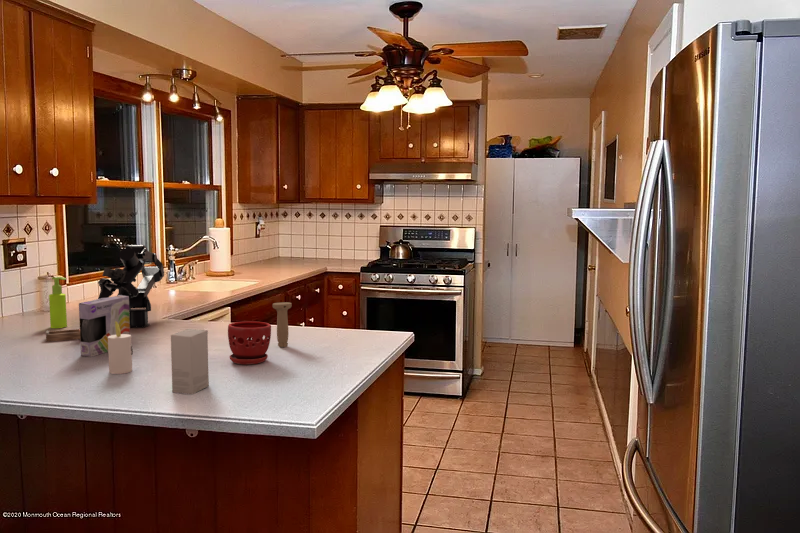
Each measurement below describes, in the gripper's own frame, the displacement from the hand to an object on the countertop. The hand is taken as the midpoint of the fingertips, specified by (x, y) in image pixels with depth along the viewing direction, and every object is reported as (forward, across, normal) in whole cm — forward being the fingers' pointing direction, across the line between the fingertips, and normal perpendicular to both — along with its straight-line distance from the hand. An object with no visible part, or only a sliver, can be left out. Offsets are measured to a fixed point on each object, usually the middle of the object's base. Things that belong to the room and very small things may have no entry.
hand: (104, 305), depth 256 cm
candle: (+28, +58, -17) cm, 67 cm away
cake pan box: (+20, +29, -7) cm, 36 cm away
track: (+16, -1, -2) cm, 17 cm away
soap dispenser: (+11, -26, +6) cm, 29 cm away
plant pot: (+7, +80, +4) cm, 81 cm away
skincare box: (+28, +91, -19) cm, 97 cm away
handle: (-8, +73, +20) cm, 76 cm away
